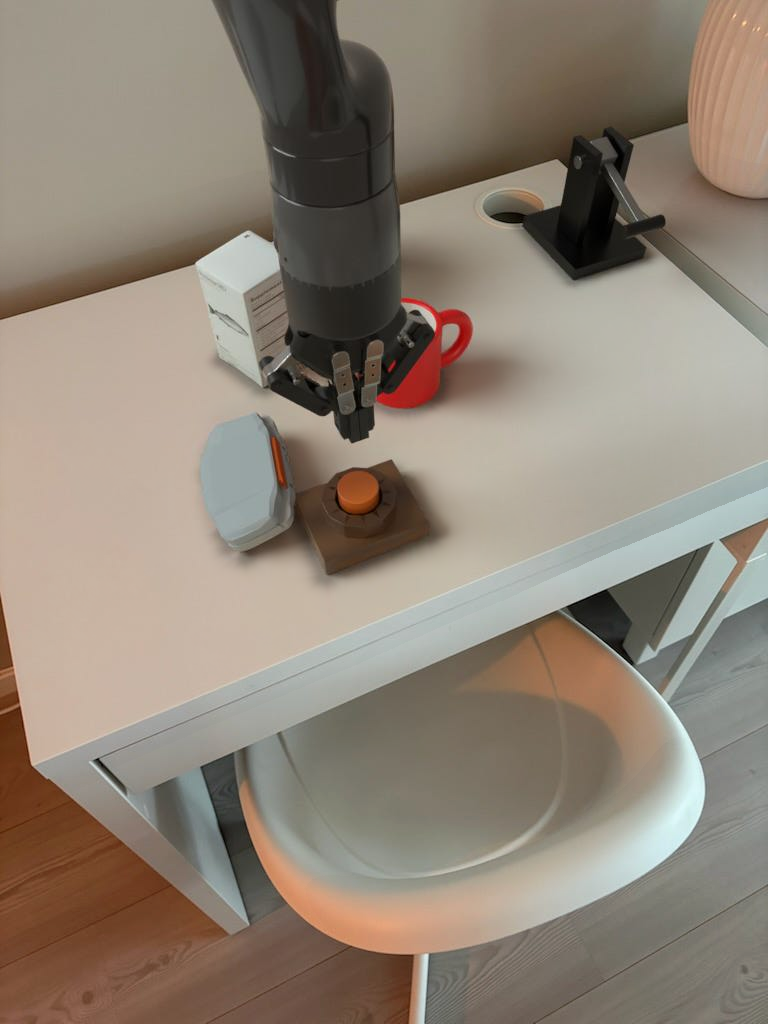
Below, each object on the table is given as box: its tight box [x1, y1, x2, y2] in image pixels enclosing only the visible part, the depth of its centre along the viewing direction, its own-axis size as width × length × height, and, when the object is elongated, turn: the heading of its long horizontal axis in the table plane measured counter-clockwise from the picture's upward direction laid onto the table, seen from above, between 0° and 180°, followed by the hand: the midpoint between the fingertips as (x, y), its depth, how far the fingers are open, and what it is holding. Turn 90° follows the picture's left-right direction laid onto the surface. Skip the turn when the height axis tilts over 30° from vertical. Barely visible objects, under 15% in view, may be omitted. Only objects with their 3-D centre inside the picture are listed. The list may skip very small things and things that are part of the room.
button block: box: [294, 458, 430, 576], centre depth 68 cm, size 8×10×4 cm
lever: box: [589, 137, 667, 240], centre depth 83 cm, size 12×5×2 cm, turn 24°
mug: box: [376, 297, 474, 409], centre depth 77 cm, size 8×12×8 cm, turn 117°
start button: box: [337, 471, 379, 515], centre depth 66 cm, size 4×4×2 cm
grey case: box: [199, 411, 296, 553], centre depth 70 cm, size 14×3×8 cm
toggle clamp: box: [521, 126, 647, 281], centre depth 88 cm, size 12×10×13 cm
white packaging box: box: [194, 229, 300, 389], centre depth 77 cm, size 7×7×13 cm
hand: (355, 433), depth 59 cm, fingers closed
